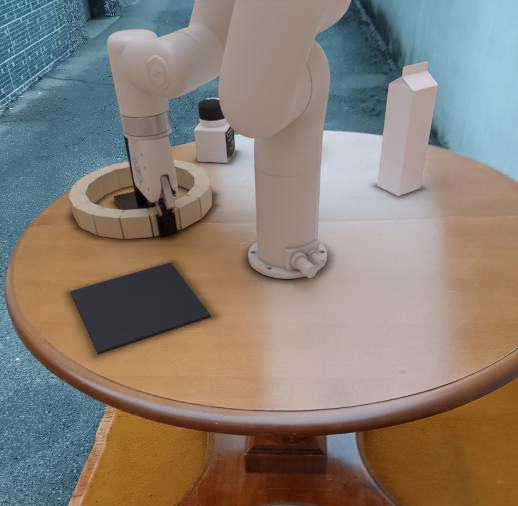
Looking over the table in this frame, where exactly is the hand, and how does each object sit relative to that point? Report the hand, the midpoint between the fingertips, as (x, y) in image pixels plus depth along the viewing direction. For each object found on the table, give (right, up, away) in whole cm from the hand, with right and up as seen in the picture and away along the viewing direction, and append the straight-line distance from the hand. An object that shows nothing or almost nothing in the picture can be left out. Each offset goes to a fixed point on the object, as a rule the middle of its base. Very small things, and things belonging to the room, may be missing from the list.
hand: (164, 228), depth 95 cm
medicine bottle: (+7, +22, +26) cm, 34 cm away
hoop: (-5, +6, +8) cm, 12 cm away
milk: (+44, +10, +10) cm, 46 cm away
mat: (-1, -15, -17) cm, 22 cm away
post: (-5, +6, +8) cm, 12 cm away
